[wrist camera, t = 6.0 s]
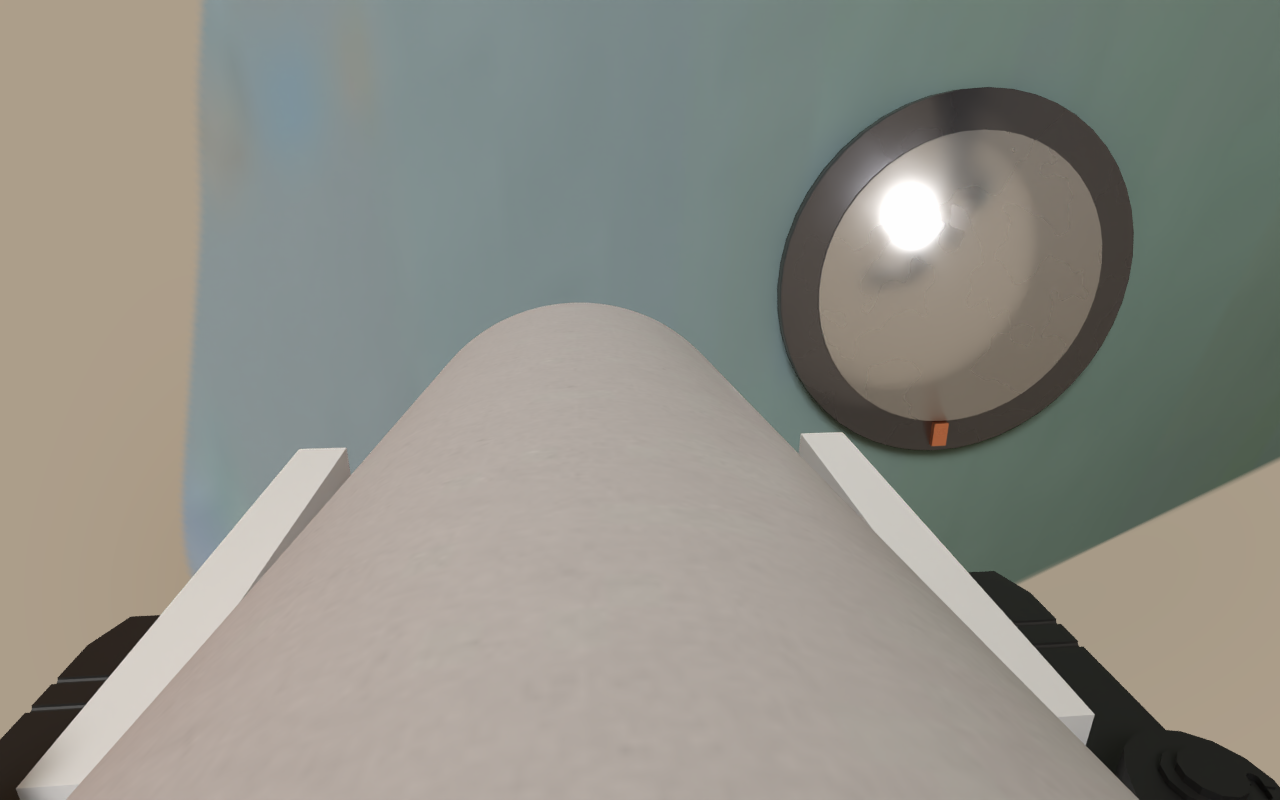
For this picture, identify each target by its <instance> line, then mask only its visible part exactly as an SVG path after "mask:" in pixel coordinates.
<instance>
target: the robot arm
mask: <svg viewBox="0 0 1280 800" xmlns="http://www.w3.org/2000/svg"><path fill="white" fill-rule="evenodd" d="M799 455H800V456H801V457H802V458H803V459H804V460H805V461H806V462H807V463H808V464H809V465H810V466H811V467H812V468H813V469H814V470H815V471H816V472H817V473H818V474H819V475H820V476H821V477H822V478H823V479H824V480H825V481H826V482H827V484H828V485H829V486H830V487H831V488H832V489H833V490H834V491H835V492H836V493H837V494H838V495H839V496H840V497H841V498H842V499H843V500H844V501H845V502H846V503H847V504H848V505H849V506H850V507H851V508H852V509H853V510H854V511H855V512H856V513H857V514H858V515H859V516H860V517H861V518H862V519H863V520H864V521H865V522H866V523H867V524H868V525H869V526H870V528H871V529H872V530H873V531H874V532H875V533H876V534H877V535H878V536H879V537H880V538H881V539H882V540H883V541H884V542H885V543H886V544H887V545H888V546H889V547H890V548H891V549H892V550H893V551H894V552H895V553H896V554H897V555H898V556H899V557H900V558H901V559H902V560H903V561H904V562H905V563H906V564H907V565H908V566H909V567H910V568H911V569H912V570H913V571H914V572H915V573H916V574H917V575H918V576H919V577H920V578H921V580H922V581H923V582H924V583H925V584H926V585H927V586H928V587H929V588H930V589H931V590H932V591H933V592H934V593H935V594H936V595H937V596H938V597H939V598H940V599H941V600H942V601H943V602H944V603H945V604H946V605H947V606H948V607H949V608H950V609H951V610H952V611H953V612H954V613H955V614H956V615H957V616H958V617H959V618H960V619H961V620H962V621H963V622H964V623H965V624H966V625H967V626H968V627H969V628H970V629H971V630H972V631H973V632H974V633H975V634H976V635H977V636H978V637H979V638H980V639H981V640H982V641H983V642H984V643H985V644H986V646H987V647H988V648H989V649H990V650H991V651H992V652H993V653H994V654H995V655H996V656H997V657H998V658H999V659H1000V660H1001V661H1002V662H1003V663H1004V664H1005V665H1006V666H1007V667H1008V668H1009V669H1010V670H1011V671H1012V672H1013V673H1014V674H1015V675H1016V676H1017V677H1018V678H1019V679H1020V680H1021V681H1022V682H1023V683H1024V684H1025V685H1026V686H1027V687H1028V688H1029V689H1030V690H1031V691H1032V692H1033V693H1034V694H1035V695H1036V696H1037V697H1038V698H1039V699H1040V700H1041V701H1042V702H1043V703H1044V704H1045V705H1046V706H1047V707H1048V708H1049V709H1050V710H1051V711H1052V712H1053V713H1054V714H1055V715H1056V716H1057V717H1058V718H1059V719H1060V720H1061V721H1062V722H1063V723H1064V724H1065V725H1066V726H1067V727H1068V728H1069V729H1070V730H1071V731H1072V732H1073V733H1074V734H1075V735H1076V736H1077V737H1078V738H1079V739H1080V740H1081V741H1082V742H1083V743H1084V745H1085V746H1086V747H1087V748H1088V749H1089V750H1090V751H1091V752H1092V753H1093V754H1094V755H1095V756H1096V757H1097V758H1098V759H1099V760H1100V761H1101V762H1102V763H1103V764H1104V765H1105V766H1106V767H1107V768H1108V769H1109V770H1110V771H1111V772H1112V773H1113V774H1114V775H1115V776H1116V777H1117V778H1118V779H1119V780H1120V781H1121V782H1122V783H1123V784H1124V785H1125V786H1126V787H1127V788H1128V789H1129V790H1130V791H1131V792H1132V793H1133V794H1134V795H1135V796H1136V797H1137V798H1138V799H1139V800H1280V787H1279V786H1278V785H1277V783H1276V782H1275V781H1274V780H1273V779H1272V778H1270V777H1269V776H1268V775H1266V774H1265V773H1263V772H1262V771H1261V770H1260V769H1258V768H1257V767H1256V766H1254V765H1253V764H1252V763H1251V762H1249V761H1248V760H1247V759H1245V758H1244V757H1241V756H1240V755H1238V754H1236V753H1234V752H1232V751H1230V750H1228V749H1226V748H1224V747H1222V746H1220V745H1219V744H1217V743H1215V742H1213V741H1210V740H1206V739H1203V738H1200V737H1197V736H1193V735H1191V734H1187V733H1184V732H1181V731H1169V730H1165V729H1164V728H1163V727H1162V726H1161V725H1160V724H1159V723H1158V722H1157V721H1156V720H1155V719H1154V718H1153V717H1152V716H1151V715H1150V714H1149V713H1148V712H1147V711H1146V710H1145V709H1144V708H1143V707H1142V706H1141V705H1140V703H1139V702H1137V700H1135V699H1134V698H1133V696H1132V695H1131V694H1130V693H1128V691H1127V690H1126V689H1125V688H1124V687H1123V686H1122V685H1121V684H1120V683H1119V682H1118V681H1117V680H1116V679H1115V678H1114V677H1113V676H1112V675H1111V674H1110V673H1109V672H1108V671H1107V670H1106V669H1105V668H1104V667H1103V666H1102V665H1101V664H1100V663H1099V662H1098V661H1097V660H1096V659H1095V658H1094V657H1093V656H1092V655H1091V654H1090V653H1089V652H1088V651H1087V650H1086V649H1085V648H1084V647H1079V646H1078V641H1077V640H1076V639H1075V638H1074V637H1073V636H1072V635H1071V634H1070V633H1069V632H1068V631H1067V630H1066V629H1065V628H1064V627H1063V626H1062V625H1061V624H1057V623H1056V619H1055V618H1054V616H1053V615H1052V614H1051V613H1050V612H1049V611H1047V609H1046V608H1045V607H1044V606H1043V605H1042V604H1041V603H1040V602H1039V601H1038V600H1037V599H1036V598H1035V597H1034V596H1033V595H1032V594H1031V593H1029V592H1028V591H1026V590H1025V589H1023V588H1021V587H1020V586H1018V585H1016V584H1015V583H1013V582H1011V581H1010V580H1008V579H1006V578H1005V577H1003V576H1001V575H1000V574H998V573H996V572H995V571H989V572H969V573H968V572H967V571H966V570H965V569H964V568H963V566H962V565H961V564H960V563H959V562H958V561H957V560H956V559H955V557H954V556H953V555H952V554H951V553H950V552H949V551H948V550H947V549H946V547H945V546H944V545H943V544H942V543H941V542H940V541H939V540H938V538H937V537H936V536H935V535H934V534H933V533H932V532H931V531H930V529H929V528H928V527H927V526H926V525H925V524H924V523H923V522H922V521H921V519H920V518H919V517H918V516H917V515H916V514H915V513H914V512H913V510H912V509H911V508H910V507H909V506H908V505H907V504H906V503H905V501H904V500H903V499H902V498H901V497H900V496H899V495H898V494H897V493H896V491H895V490H894V489H893V488H892V487H891V486H890V485H889V484H888V482H887V481H886V480H885V479H884V478H883V477H882V476H881V475H880V473H879V472H878V471H877V470H876V469H875V468H874V467H873V466H872V465H871V463H870V462H869V461H868V460H867V459H866V458H865V457H864V456H863V454H862V453H861V452H860V451H859V450H858V449H857V448H856V447H855V445H854V444H853V443H852V442H851V441H850V440H849V439H848V438H847V437H846V435H845V434H844V433H843V432H835V433H803V434H801V437H800V448H799ZM350 476H351V474H350V467H349V461H348V454H347V448H321V449H299V450H298V451H297V452H296V454H295V455H294V456H293V457H292V458H291V460H290V461H289V462H288V463H287V464H286V466H285V467H284V468H283V469H282V470H281V472H280V473H279V474H278V475H277V476H276V478H275V479H274V480H273V481H272V482H271V484H270V485H269V486H268V487H267V488H266V490H265V491H264V492H263V493H262V494H261V496H260V497H259V498H258V499H257V500H256V502H255V503H254V504H253V505H252V506H251V508H250V509H249V510H248V511H247V512H246V514H245V515H244V516H243V517H242V518H241V520H240V521H239V522H238V523H237V524H236V526H235V527H234V528H233V529H232V530H231V532H230V533H229V534H228V535H227V536H226V538H225V539H224V540H223V541H222V542H221V544H220V545H219V546H218V547H217V548H216V549H215V551H214V552H213V553H212V554H211V555H210V557H209V558H208V559H207V560H206V561H205V563H204V564H203V565H202V566H201V567H200V569H199V570H198V571H197V572H196V573H195V575H194V576H193V577H192V578H191V579H190V581H189V582H188V583H187V584H186V586H185V587H184V588H183V589H182V590H181V591H180V593H179V594H178V595H177V596H176V597H175V599H174V600H173V601H172V602H171V604H170V605H169V606H168V607H167V608H166V609H165V611H164V612H163V613H162V614H161V615H157V616H156V615H155V616H135V617H130V618H128V619H127V620H125V621H124V622H122V623H121V624H119V625H118V626H116V627H115V628H113V629H111V630H110V631H109V632H107V633H105V634H104V635H102V636H101V637H99V638H98V639H96V640H95V641H93V642H92V643H90V644H89V645H88V646H87V647H86V648H85V649H84V650H83V651H82V652H81V653H80V654H79V655H78V656H77V658H75V660H74V661H73V662H72V663H71V664H70V665H69V666H68V667H67V668H66V670H64V672H63V673H62V674H61V675H60V676H59V677H58V681H57V684H52V685H50V687H49V688H48V689H47V690H46V691H45V692H44V693H43V694H42V695H41V696H40V697H39V698H38V700H37V701H36V702H35V703H34V704H33V705H32V710H31V712H30V713H25V714H24V715H23V716H22V717H21V718H20V719H19V720H18V721H17V722H16V723H15V724H14V725H13V727H12V728H11V729H10V730H9V731H8V732H7V733H6V734H5V735H4V736H3V737H2V738H1V739H0V800H66V799H67V798H68V797H69V795H70V794H71V793H72V792H73V791H74V790H75V789H76V787H77V786H78V785H79V784H80V783H81V782H82V781H83V780H84V778H85V777H86V776H87V775H88V774H89V773H90V772H91V771H92V769H93V768H94V767H95V766H96V765H97V764H98V763H99V762H100V760H101V759H102V758H103V757H104V756H105V755H106V754H107V752H108V751H109V750H110V749H111V748H112V747H113V746H114V745H115V743H116V742H117V741H118V740H119V739H120V738H121V737H122V735H123V734H124V733H125V732H126V731H127V730H128V729H129V728H130V726H131V725H132V724H133V723H134V722H135V721H136V720H137V719H138V717H139V716H140V715H141V714H142V713H143V712H144V711H145V709H146V708H147V707H148V706H149V705H150V704H151V703H152V702H153V700H154V699H155V698H156V697H157V696H158V695H159V694H160V692H161V691H162V690H163V689H164V688H165V687H166V686H167V685H168V683H169V682H170V681H171V680H172V679H173V678H174V677H175V675H176V674H177V673H178V672H179V671H180V670H181V669H182V668H183V666H184V665H185V664H186V663H187V662H188V661H189V660H190V658H191V657H192V656H193V655H194V654H195V653H196V652H197V650H198V649H199V648H200V647H201V646H202V645H203V644H204V643H205V641H206V640H207V639H208V638H209V637H210V636H211V635H212V633H213V632H214V631H215V630H216V629H217V628H218V627H219V625H220V624H221V623H222V622H223V621H224V620H225V619H226V617H227V616H228V615H229V614H230V613H231V612H232V611H233V610H234V608H235V607H236V606H237V605H238V604H239V603H240V602H241V600H242V599H243V598H244V597H245V596H246V595H247V594H248V592H249V591H250V590H251V589H252V588H253V587H254V586H255V584H256V583H257V582H258V581H259V580H260V579H261V578H262V576H263V575H264V574H265V573H266V572H267V571H268V570H269V568H270V567H271V566H272V565H273V564H274V563H275V562H276V560H277V559H278V558H279V557H280V556H281V555H282V554H283V552H284V551H285V550H286V549H287V548H288V547H289V546H290V544H291V543H292V542H293V541H294V540H295V539H296V538H297V536H298V535H299V534H300V533H301V532H302V531H303V530H304V528H305V527H306V526H307V525H308V524H309V523H310V522H311V520H312V519H313V518H314V517H315V516H316V515H317V514H318V512H319V511H320V510H321V509H322V508H323V507H324V506H325V504H326V503H327V502H328V501H329V500H330V499H331V498H332V496H333V495H334V494H335V493H336V492H337V491H338V490H339V488H340V487H341V486H342V485H343V484H344V483H345V481H346V480H347V479H348V478H349V477H350Z"/></svg>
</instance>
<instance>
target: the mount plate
mask: <svg viewBox="0 0 1280 800" xmlns="http://www.w3.org/2000/svg"><path fill="white" fill-rule="evenodd" d="M1133 235H1134V232H1133V220H1132V209H1131V205H1130V201H1129V196H1128V192H1127V188H1126V185H1125V182H1124V180H1123V177H1122V175H1121V172H1120V170H1119V167H1118V165H1117V163H1116V162H1115V160H1114V158H1113V156H1112V155H1111V153H1110V151H1109V150H1108V148H1107V146H1106V145H1105V144H1104V143H1103V142H1102V140H1101V139H1100V138H1099V137H1098V135H1097V134H1096V133H1095V132H1094V130H1093V129H1091V128H1090V127H1089V126H1088V125H1087V124H1086V123H1085V122H1083V121H1082V120H1081V119H1080V118H1079V117H1078V116H1077V115H1075V114H1074V113H1072V112H1070V111H1069V110H1067V109H1066V108H1064V107H1062V106H1061V105H1059V104H1058V103H1055V102H1053V101H1051V100H1048V99H1046V98H1043V97H1041V96H1038V95H1036V94H1032V93H1028V92H1023V91H1019V90H1015V89H1006V88H992V87H984V88H972V89H960V90H953V91H948V92H944V93H939V94H935V95H930V96H927V97H925V98H922V99H919V100H917V101H914V102H911V103H909V104H906V105H904V106H902V107H900V108H898V109H896V110H894V111H892V112H891V113H889V114H887V115H885V116H883V117H881V118H880V119H878V120H877V121H876V122H874V123H873V124H871V125H870V126H868V127H867V128H866V129H864V130H863V131H861V132H860V133H859V134H858V135H857V136H856V137H854V138H853V139H852V140H851V141H850V142H849V143H848V144H847V145H846V146H844V147H843V148H842V149H841V150H840V151H839V152H838V153H837V155H836V156H835V157H834V158H833V159H832V160H831V161H830V162H829V164H828V165H827V166H826V167H825V168H824V169H823V171H822V172H821V173H820V175H819V176H818V178H817V179H816V181H815V182H814V184H813V185H812V186H811V188H810V189H809V191H808V192H807V194H806V196H805V198H804V200H803V202H802V204H801V206H800V208H799V209H798V211H797V213H796V215H795V218H794V220H793V223H792V226H791V228H790V231H789V233H788V236H787V239H786V242H785V246H784V250H783V254H782V258H781V262H780V270H779V278H778V286H777V292H778V316H779V323H780V330H781V335H782V338H783V342H784V345H785V349H786V352H787V355H788V357H789V359H790V361H791V364H792V366H793V368H794V370H795V373H796V374H797V376H798V377H799V379H800V380H801V382H802V384H803V385H804V387H805V388H806V390H807V391H808V392H809V393H810V394H811V396H812V397H813V398H814V399H815V400H816V401H817V402H818V404H819V405H820V406H821V407H822V408H823V409H824V410H825V411H826V412H827V413H829V414H830V415H831V416H832V417H833V418H834V419H836V420H837V421H838V422H839V423H841V424H842V425H844V426H845V427H847V428H848V429H850V430H852V431H853V432H855V433H856V434H859V435H861V436H863V437H866V438H868V439H870V440H872V441H875V442H878V443H882V444H885V445H889V446H892V447H897V448H905V449H912V450H940V449H949V448H957V447H961V446H966V445H970V444H974V443H978V442H981V441H984V440H986V439H989V438H992V437H995V436H998V435H1000V434H1002V433H1004V432H1006V431H1008V430H1010V429H1012V428H1014V427H1016V426H1018V425H1020V424H1021V423H1023V422H1025V421H1026V420H1028V419H1029V418H1031V417H1033V416H1034V415H1036V414H1037V413H1039V412H1040V411H1041V410H1043V409H1044V408H1045V407H1046V406H1048V405H1049V404H1050V403H1052V402H1053V401H1054V400H1055V399H1056V398H1058V397H1059V396H1060V395H1061V394H1062V393H1063V392H1064V391H1065V390H1066V389H1067V388H1068V387H1069V386H1070V385H1071V384H1072V383H1073V382H1074V381H1075V380H1076V378H1077V377H1078V376H1079V375H1080V374H1081V373H1082V371H1083V370H1084V369H1085V368H1086V367H1087V366H1088V364H1089V363H1090V361H1091V360H1092V358H1093V357H1094V356H1095V354H1096V353H1097V351H1098V350H1099V348H1100V347H1101V345H1102V344H1103V342H1104V340H1105V338H1106V336H1107V334H1108V333H1109V331H1110V329H1111V327H1112V325H1113V323H1114V321H1115V318H1116V316H1117V313H1118V311H1119V309H1120V306H1121V304H1122V301H1123V298H1124V294H1125V291H1126V287H1127V284H1128V280H1129V275H1130V269H1131V263H1132V257H1133Z"/></svg>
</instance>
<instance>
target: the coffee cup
mask: <svg viewBox="0 0 1280 800" xmlns="http://www.w3.org/2000/svg"><path fill="white" fill-rule="evenodd" d="M66 800H1139V799H1138V798H1137V797H1136V796H1135V795H1134V794H1133V793H1132V792H1131V791H1130V790H1129V789H1128V788H1127V787H1126V786H1125V785H1124V784H1123V783H1122V782H1121V781H1120V780H1119V779H1118V778H1117V777H1116V776H1115V775H1114V774H1113V773H1112V772H1111V771H1110V770H1109V769H1108V768H1107V767H1106V766H1105V765H1104V764H1103V763H1102V762H1101V761H1100V760H1099V759H1098V758H1097V757H1096V756H1095V755H1094V754H1093V753H1092V752H1091V751H1090V750H1089V749H1088V748H1087V747H1086V746H1085V745H1084V743H1083V742H1082V741H1081V740H1080V739H1079V738H1078V737H1077V736H1076V735H1075V734H1074V733H1073V732H1072V731H1071V730H1070V729H1069V728H1068V727H1067V726H1066V725H1065V724H1064V723H1063V722H1062V721H1061V720H1060V719H1059V718H1058V717H1057V716H1056V715H1055V714H1054V713H1053V712H1052V711H1051V710H1050V709H1049V708H1048V707H1047V706H1046V705H1045V704H1044V703H1043V702H1042V701H1041V700H1040V699H1039V698H1038V697H1037V696H1036V695H1035V694H1034V693H1033V692H1032V691H1031V690H1030V689H1029V688H1028V687H1027V686H1026V685H1025V684H1024V683H1023V682H1022V681H1021V680H1020V679H1019V678H1018V677H1017V676H1016V675H1015V674H1014V673H1013V672H1012V671H1011V670H1010V669H1009V668H1008V667H1007V666H1006V665H1005V664H1004V663H1003V662H1002V661H1001V660H1000V659H999V658H998V657H997V656H996V655H995V654H994V653H993V652H992V651H991V650H990V649H989V648H988V647H987V646H986V644H985V643H984V642H983V641H982V640H981V639H980V638H979V637H978V636H977V635H976V634H975V633H974V632H973V631H972V630H971V629H970V628H969V627H968V626H967V625H966V624H965V623H964V622H963V621H962V620H961V619H960V618H959V617H958V616H957V615H956V614H955V613H954V612H953V611H952V610H951V609H950V608H949V607H948V606H947V605H946V604H945V603H944V602H943V601H942V600H941V599H940V598H939V597H938V596H937V595H936V594H935V593H934V592H933V591H932V590H931V589H930V588H929V587H928V586H927V585H926V584H925V583H924V582H923V581H922V580H921V578H920V577H919V576H918V575H917V574H916V573H915V572H914V571H913V570H912V569H911V568H910V567H909V566H908V565H907V564H906V563H905V562H904V561H903V560H902V559H901V558H900V557H899V556H898V555H897V554H896V553H895V552H894V551H893V550H892V549H891V548H890V547H889V546H888V545H887V544H886V543H885V542H884V541H883V540H882V539H881V538H880V537H879V536H878V535H877V534H876V533H875V532H874V531H873V530H872V529H871V528H870V526H869V525H868V524H867V523H866V522H865V521H864V520H863V519H862V518H861V517H860V516H859V515H858V514H857V513H856V512H855V511H854V510H853V509H852V508H851V507H850V506H849V505H848V504H847V503H846V502H845V501H844V500H843V499H842V498H841V497H840V496H839V495H838V494H837V493H836V492H835V491H834V490H833V489H832V488H831V487H830V486H829V485H828V484H827V482H826V481H825V480H824V479H823V478H822V477H821V476H820V475H819V474H818V473H817V472H816V471H815V470H814V469H813V468H812V467H811V466H810V465H809V464H808V463H807V462H806V461H805V460H804V459H803V458H802V457H801V456H800V455H799V454H798V453H797V452H796V451H795V450H794V449H793V448H792V447H791V446H790V445H789V444H788V443H787V442H786V440H785V439H784V438H783V437H782V436H781V435H780V434H779V433H778V432H777V431H776V430H775V429H774V428H773V427H772V426H771V425H770V424H769V423H768V422H767V421H766V420H765V419H764V418H763V417H762V416H761V415H760V414H759V413H758V412H757V411H756V410H755V409H754V408H753V407H752V406H751V405H750V403H749V402H748V401H747V400H746V399H745V398H744V397H743V396H742V395H741V394H740V393H739V392H738V391H737V390H736V389H735V388H734V387H733V386H732V385H731V384H730V383H729V382H728V381H727V380H726V379H725V378H724V377H723V376H722V375H721V374H720V373H719V372H718V370H717V369H716V368H715V367H714V366H713V365H712V364H711V363H710V362H709V361H708V360H707V359H706V358H705V357H704V356H703V355H702V354H701V353H700V352H699V351H698V350H697V349H696V348H695V347H694V346H693V345H691V344H690V343H689V342H688V341H687V340H686V339H684V338H683V337H682V336H680V335H679V334H678V333H676V332H675V331H673V330H672V329H670V328H669V327H667V326H665V325H664V324H662V323H660V322H658V321H656V320H654V319H652V318H650V317H647V316H645V315H642V314H640V313H637V312H634V311H631V310H628V309H624V308H620V307H616V306H611V305H604V304H596V303H563V304H555V305H549V306H543V307H539V308H535V309H531V310H528V311H525V312H522V313H519V314H516V315H514V316H512V317H509V318H507V319H505V320H503V321H501V322H499V323H497V324H495V325H493V326H492V327H490V328H488V329H487V330H485V331H484V332H482V333H481V334H479V335H478V336H477V337H475V338H474V339H473V340H472V341H470V342H469V343H468V344H467V345H466V346H464V347H463V348H462V349H461V350H460V351H459V352H458V353H457V354H456V355H455V356H454V357H453V359H452V360H451V361H450V362H449V363H448V364H447V365H446V366H445V368H444V369H443V370H442V371H441V372H440V373H439V374H438V376H437V377H436V378H435V379H434V380H433V381H432V383H431V384H430V385H429V386H428V387H427V388H426V389H425V391H424V392H423V393H422V394H421V395H420V396H419V398H418V399H417V400H416V401H415V402H414V403H413V404H412V406H411V407H410V408H409V409H408V410H407V411H406V413H405V414H404V415H403V416H402V417H401V418H400V419H399V421H398V422H397V423H396V424H395V425H394V426H393V428H392V429H391V430H390V431H389V432H388V433H387V434H386V436H385V437H384V438H383V439H382V440H381V441H380V442H379V444H378V445H377V446H376V447H375V448H374V449H373V451H372V452H371V453H370V454H369V455H368V456H367V457H366V459H365V460H364V461H363V462H362V463H361V464H360V465H359V467H358V468H357V469H356V470H355V471H354V472H353V473H352V475H351V476H350V477H349V478H348V479H347V480H346V481H345V483H344V484H343V485H342V486H341V487H340V488H339V490H338V491H337V492H336V493H335V494H334V495H333V496H332V498H331V499H330V500H329V501H328V502H327V503H326V504H325V506H324V507H323V508H322V509H321V510H320V511H319V512H318V514H317V515H316V516H315V517H314V518H313V519H312V520H311V522H310V523H309V524H308V525H307V526H306V527H305V528H304V530H303V531H302V532H301V533H300V534H299V535H298V536H297V538H296V539H295V540H294V541H293V542H292V543H291V544H290V546H289V547H288V548H287V549H286V550H285V551H284V552H283V554H282V555H281V556H280V557H279V558H278V559H277V560H276V562H275V563H274V564H273V565H272V566H271V567H270V568H269V570H268V571H267V572H266V573H265V574H264V575H263V576H262V578H261V579H260V580H259V581H258V582H257V583H256V584H255V586H254V587H253V588H252V589H251V590H250V591H249V592H248V594H247V595H246V596H245V597H244V598H243V599H242V600H241V602H240V603H239V604H238V605H237V606H236V607H235V608H234V610H233V611H232V612H231V613H230V614H229V615H228V616H227V617H226V619H225V620H224V621H223V622H222V623H221V624H220V625H219V627H218V628H217V629H216V630H215V631H214V632H213V633H212V635H211V636H210V637H209V638H208V639H207V640H206V641H205V643H204V644H203V645H202V646H201V647H200V648H199V649H198V650H197V652H196V653H195V654H194V655H193V656H192V657H191V658H190V660H189V661H188V662H187V663H186V664H185V665H184V666H183V668H182V669H181V670H180V671H179V672H178V673H177V674H176V675H175V677H174V678H173V679H172V680H171V681H170V682H169V683H168V685H167V686H166V687H165V688H164V689H163V690H162V691H161V692H160V694H159V695H158V696H157V697H156V698H155V699H154V700H153V702H152V703H151V704H150V705H149V706H148V707H147V708H146V709H145V711H144V712H143V713H142V714H141V715H140V716H139V717H138V719H137V720H136V721H135V722H134V723H133V724H132V725H131V726H130V728H129V729H128V730H127V731H126V732H125V733H124V734H123V735H122V737H121V738H120V739H119V740H118V741H117V742H116V743H115V745H114V746H113V747H112V748H111V749H110V750H109V751H108V752H107V754H106V755H105V756H104V757H103V758H102V759H101V760H100V762H99V763H98V764H97V765H96V766H95V767H94V768H93V769H92V771H91V772H90V773H89V774H88V775H87V776H86V777H85V778H84V780H83V781H82V782H81V783H80V784H79V785H78V786H77V787H76V789H75V790H74V791H73V792H72V793H71V794H70V795H69V797H68V798H67V799H66Z"/></svg>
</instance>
